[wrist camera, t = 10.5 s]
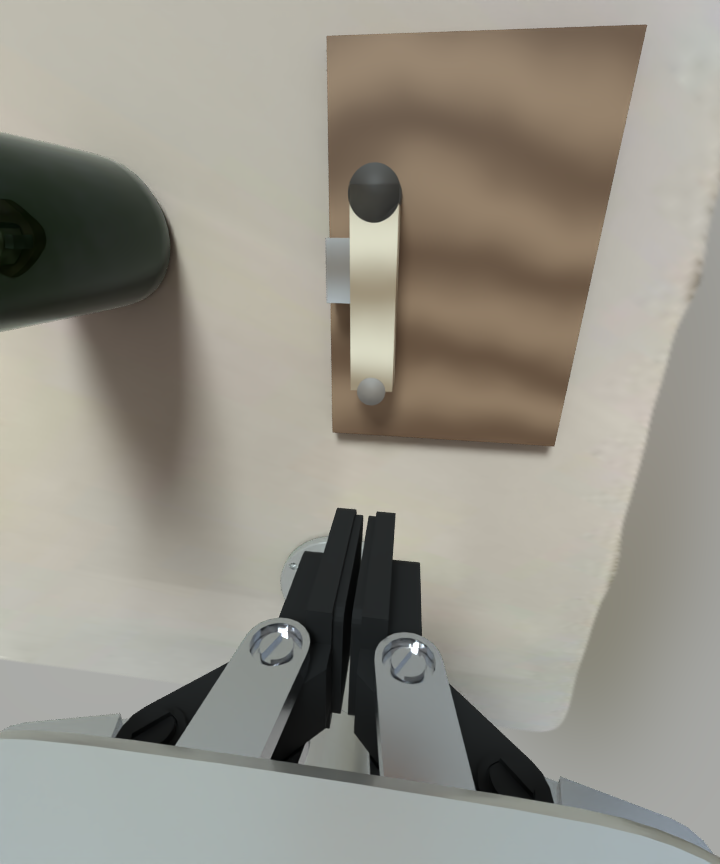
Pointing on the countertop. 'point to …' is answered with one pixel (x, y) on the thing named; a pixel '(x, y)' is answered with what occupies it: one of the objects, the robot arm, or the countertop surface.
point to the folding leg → (373, 279)
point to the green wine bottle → (73, 234)
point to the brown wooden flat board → (477, 216)
